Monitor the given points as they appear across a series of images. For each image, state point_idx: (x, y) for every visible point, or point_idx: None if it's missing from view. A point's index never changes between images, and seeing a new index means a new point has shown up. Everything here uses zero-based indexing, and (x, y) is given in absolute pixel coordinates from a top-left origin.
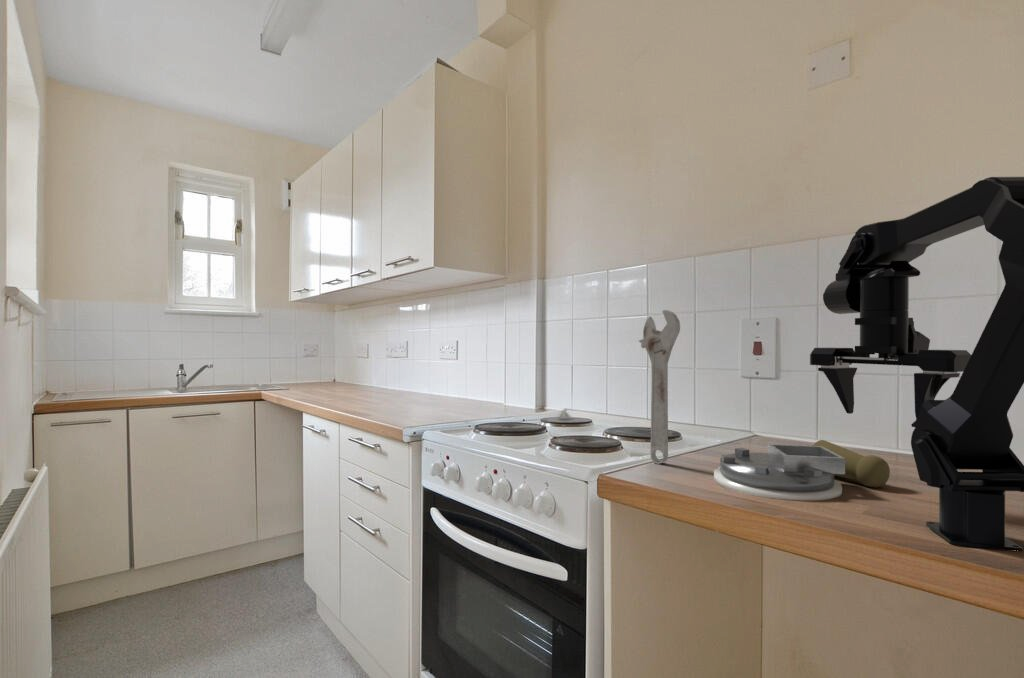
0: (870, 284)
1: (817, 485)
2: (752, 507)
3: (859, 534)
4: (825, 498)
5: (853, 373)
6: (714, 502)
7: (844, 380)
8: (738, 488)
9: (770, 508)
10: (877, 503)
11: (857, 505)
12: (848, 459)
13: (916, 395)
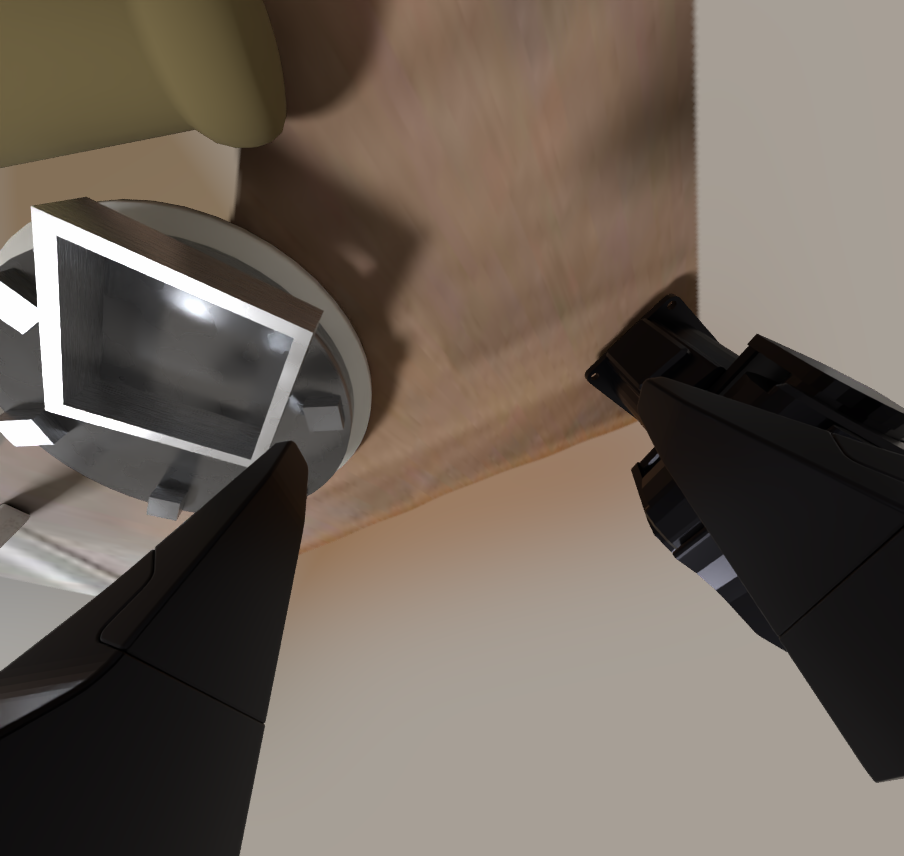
0: None
1: (352, 403)
2: (371, 504)
3: (519, 451)
4: (370, 381)
5: (16, 765)
6: (336, 533)
7: (221, 708)
8: None
9: (382, 486)
10: (412, 264)
11: (410, 331)
12: (131, 118)
13: (745, 569)
